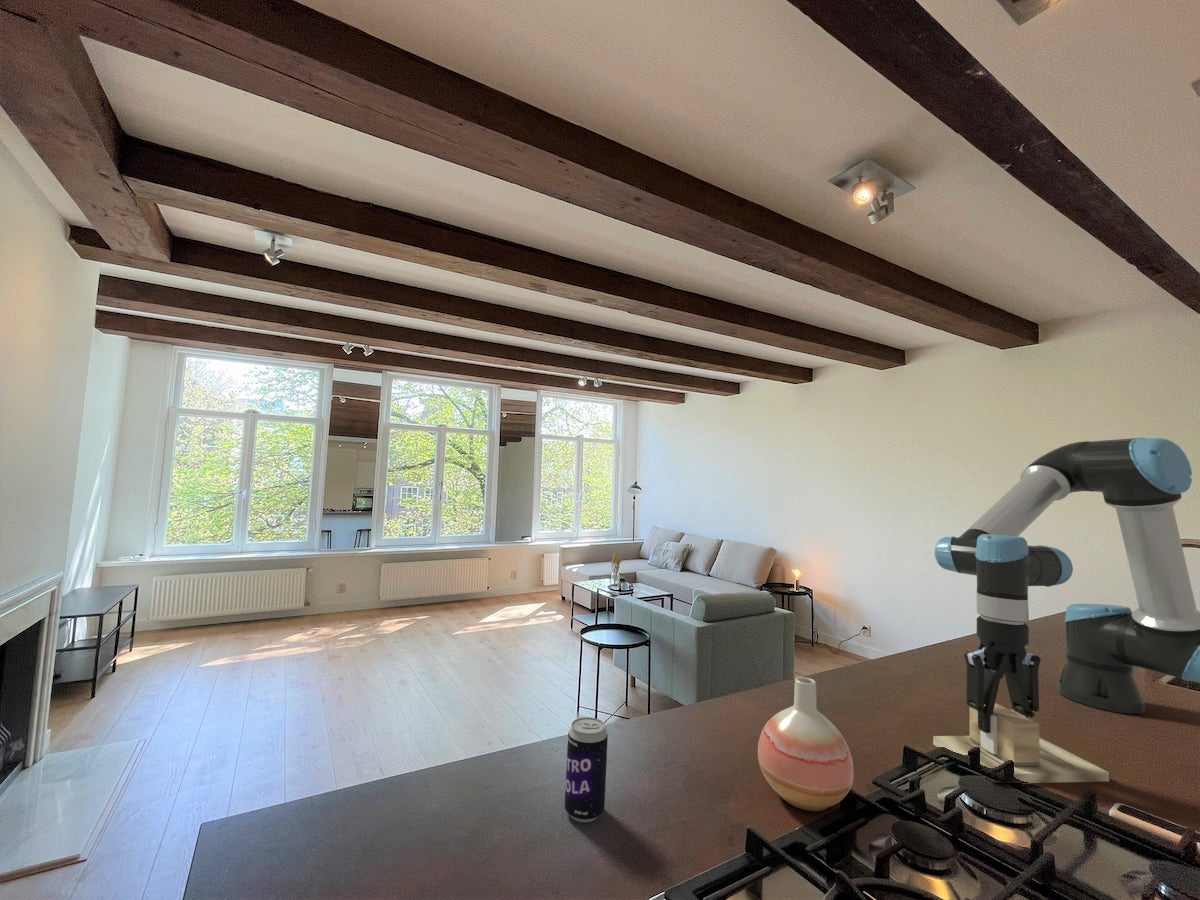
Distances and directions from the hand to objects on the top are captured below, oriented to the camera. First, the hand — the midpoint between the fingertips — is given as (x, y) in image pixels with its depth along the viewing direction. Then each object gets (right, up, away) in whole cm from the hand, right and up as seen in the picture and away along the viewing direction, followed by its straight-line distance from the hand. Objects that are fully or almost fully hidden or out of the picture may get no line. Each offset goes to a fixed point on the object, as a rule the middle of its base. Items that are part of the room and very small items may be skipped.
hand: (1003, 749), depth 92 cm
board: (+3, -2, 0) cm, 3 cm away
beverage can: (-75, +3, -20) cm, 78 cm away
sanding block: (0, 0, 0) cm, 0 cm away
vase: (-42, +1, -14) cm, 44 cm away
